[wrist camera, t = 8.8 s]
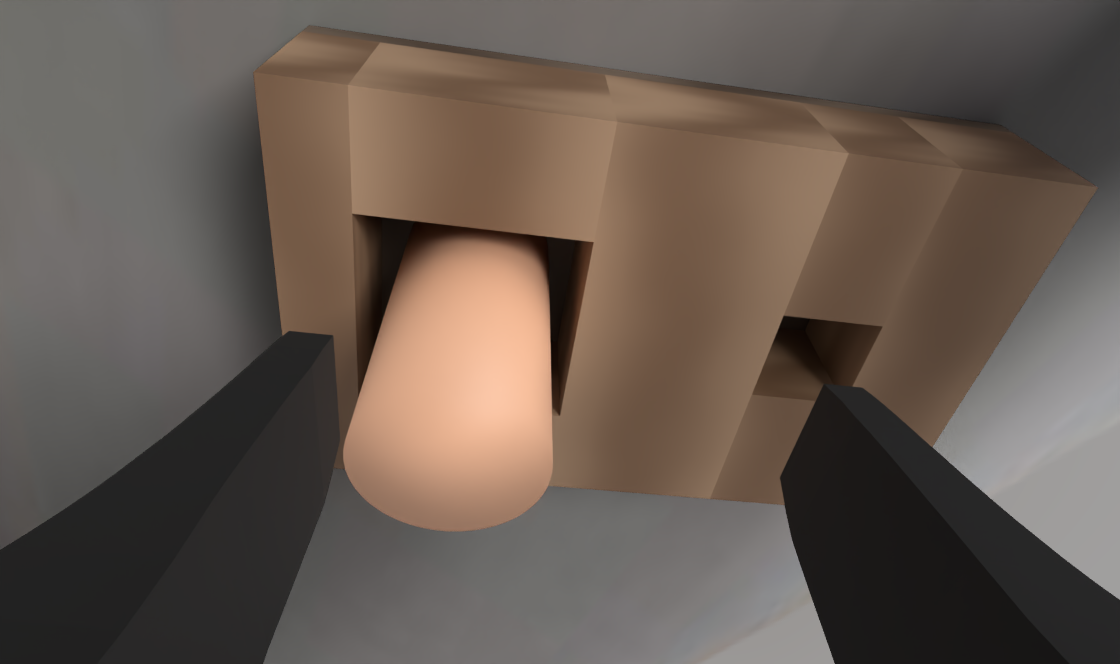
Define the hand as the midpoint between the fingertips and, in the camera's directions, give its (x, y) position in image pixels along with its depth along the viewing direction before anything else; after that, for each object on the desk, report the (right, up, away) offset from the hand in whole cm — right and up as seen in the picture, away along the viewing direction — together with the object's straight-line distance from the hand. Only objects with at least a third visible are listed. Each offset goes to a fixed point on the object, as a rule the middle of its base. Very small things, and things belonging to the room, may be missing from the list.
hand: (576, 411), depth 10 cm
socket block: (+2, +3, +10) cm, 11 cm away
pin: (-3, +3, +9) cm, 10 cm away
